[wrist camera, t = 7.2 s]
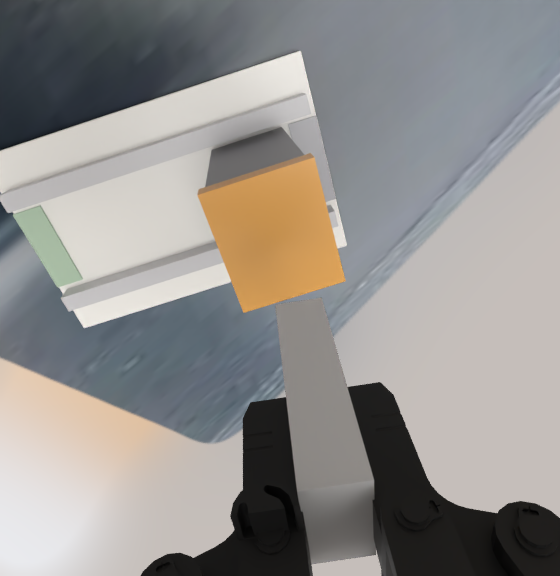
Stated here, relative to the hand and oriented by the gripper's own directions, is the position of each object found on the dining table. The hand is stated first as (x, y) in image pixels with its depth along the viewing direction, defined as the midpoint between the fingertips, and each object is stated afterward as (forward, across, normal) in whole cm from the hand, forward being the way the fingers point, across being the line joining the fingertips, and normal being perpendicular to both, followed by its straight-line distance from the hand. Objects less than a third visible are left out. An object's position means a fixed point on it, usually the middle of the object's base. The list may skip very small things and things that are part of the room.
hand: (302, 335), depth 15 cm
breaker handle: (+19, -1, -1) cm, 19 cm away
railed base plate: (+20, -7, -2) cm, 22 cm away
